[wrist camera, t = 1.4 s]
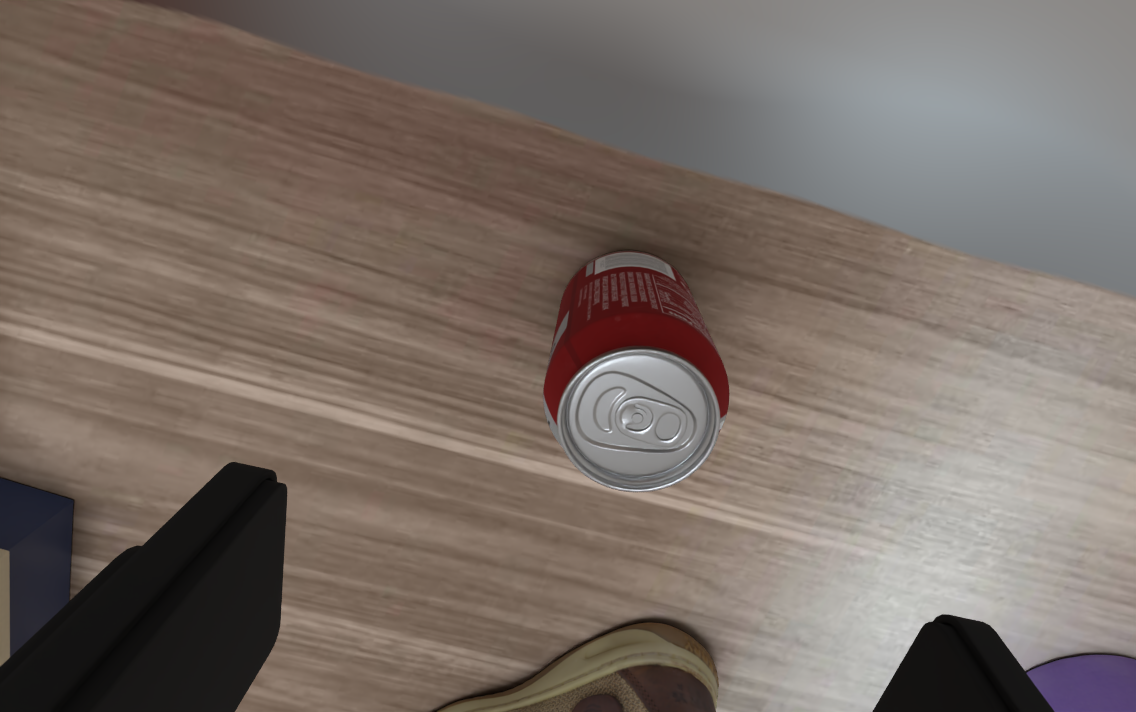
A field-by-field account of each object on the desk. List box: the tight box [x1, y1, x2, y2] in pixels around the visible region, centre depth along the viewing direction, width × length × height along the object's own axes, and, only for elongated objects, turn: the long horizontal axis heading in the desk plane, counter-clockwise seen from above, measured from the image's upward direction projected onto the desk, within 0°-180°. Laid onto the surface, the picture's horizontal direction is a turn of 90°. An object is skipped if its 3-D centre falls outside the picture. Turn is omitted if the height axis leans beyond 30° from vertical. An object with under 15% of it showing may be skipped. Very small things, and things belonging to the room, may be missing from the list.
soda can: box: [543, 250, 729, 492], centre depth 27 cm, size 7×7×12 cm
